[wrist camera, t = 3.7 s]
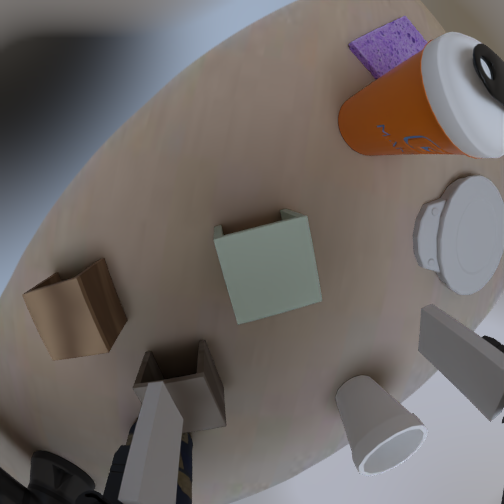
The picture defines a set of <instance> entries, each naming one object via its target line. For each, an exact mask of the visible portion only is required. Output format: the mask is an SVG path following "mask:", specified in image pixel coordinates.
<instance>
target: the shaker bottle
mask: <svg viewBox="0 0 504 504" xmlns="http://www.w3.org/2000/svg"><path fill="white" fill-rule="evenodd" d="M338 123H339V129H340V132H341V134H342V137H343V138H344V140H345V141H346V143H347V144H348V145H349V146H350V147H351V148H352V149H353V150H355V151H357V152H358V153H360V154H363V155H369V156H374V155H399V154H460V155H467V156H468V157H472V158H475V159H477V158H499V157H501V156H503V155H504V62H503V61H502V60H501V58H499V56H497V54H495V53H494V52H493V51H492V50H491V49H490V48H489V47H487V46H486V45H484V44H482V43H481V42H479V41H477V40H476V39H474V38H472V37H469V36H467V35H464V34H461V33H458V32H449V33H445V34H443V35H441V36H439V37H438V38H436V39H433V40H430V41H429V42H428V43H427V44H426V45H425V47H424V48H423V50H421V51H419V52H418V53H416V54H415V55H413V56H411V57H410V58H408V59H407V60H405V61H404V62H402V63H401V64H399V65H398V66H396V67H394V68H393V69H391V70H390V71H388V72H387V73H385V74H384V75H382V76H381V77H380V78H378V79H377V80H375V81H374V82H372V83H371V84H369V85H368V86H366V87H365V88H364V89H362V90H361V91H359V92H358V93H356V94H355V95H354V96H352V97H351V98H349V99H348V100H347V101H346V102H345V103H344V104H343V105H342V107H341V109H340V112H339V117H338Z"/></svg>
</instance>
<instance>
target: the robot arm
mask: <svg viewBox="0 0 504 504" xmlns="http://www.w3.org/2000/svg"><path fill="white" fill-rule="evenodd" d="M418 351H419V352H420V353H421V354H422V355H423V356H424V357H425V358H426V359H428V360H429V361H430V362H431V363H432V364H433V365H434V366H435V367H436V368H437V369H438V370H439V371H440V372H441V373H442V374H443V375H444V376H445V377H446V378H447V379H448V380H449V381H450V382H451V383H452V384H453V385H454V386H456V388H457V389H459V390H460V391H461V392H462V393H463V394H464V395H465V396H466V397H467V398H468V399H469V400H470V401H471V402H472V403H473V404H474V405H475V406H476V408H478V410H480V412H481V413H482V414H483V415H484V416H485V417H486V418H487V419H488V420H489V421H490V422H491V421H492V420H493V419H494V418H495V417H497V416H498V415H499V414H500V413H501V412H502V409H503V408H504V345H501V343H500V342H498V341H497V340H495V339H494V338H491V337H488V336H483V337H480V336H479V335H477V334H476V333H474V332H473V331H472V330H470V329H469V328H467V327H466V326H464V325H463V324H462V323H460V322H459V321H457V320H456V319H454V318H453V317H451V316H450V315H448V314H447V313H445V312H444V311H442V310H441V309H439V308H438V307H436V306H435V305H433V304H430V305H428V306H425V307H423V308H421V321H420V335H419V346H418ZM502 423H504V417H503V419H502ZM182 427H183V418H182V416H181V414H180V412H179V411H178V409H177V407H176V405H175V403H174V401H173V400H172V398H171V396H170V394H169V392H168V390H167V388H166V386H165V384H164V382H163V381H161V382H153V383H148V386H147V390H146V393H145V396H144V400H143V403H142V407H141V410H140V414H139V417H138V421H137V424H136V428H135V431H134V435H133V439H132V443H131V445H121V446H120V448H119V449H118V450H117V452H116V453H115V455H114V458H113V461H112V465H111V468H110V473H109V476H108V479H107V483H106V487H105V490H104V494H103V495H101V494H100V493H99V492H96V491H94V489H95V484H94V482H93V480H92V479H91V478H90V477H89V476H88V475H87V474H86V473H84V472H83V471H82V470H81V469H79V468H78V467H76V466H75V465H73V464H72V463H70V462H68V461H66V460H65V459H63V458H61V457H58V456H56V455H54V454H51V453H48V452H45V451H36V452H34V454H33V456H32V458H31V470H30V483H29V485H28V488H26V487H24V486H23V485H22V484H20V483H19V482H18V481H17V480H15V479H14V478H13V477H12V476H10V475H9V474H8V473H7V472H6V471H4V470H3V469H2V468H1V467H0V504H176V492H177V479H178V467H179V456H180V446H181V436H182ZM501 504H504V491H503V497H502V503H501Z"/></svg>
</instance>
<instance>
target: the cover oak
mask: <svg viewBox="0 0 504 504" xmlns="http://www.w3.org/2000/svg"><path fill="white" fill-rule="evenodd" d="M161 381H163V382H164V384H165V386H166V388H167V390H168V392H169V394H170V396H171V398H172V400H173V401H174V403H175V405H176V407H177V409H178V411H179V412H180V414H181V416H182V418H183V427H182V433H187V432H195V431H201V430H208V429H214V428H219V427H225V426H226V416H225V402H224V387H223V385H222V382H221V380H220V377H219V375H218V372H217V370H216V367H215V365H214V362H213V359H212V357H211V354H210V352H209V349H208V346H207V344H206V341H205V340H201V341H199V350H198V362H197V374H192V375H187V376H182V377H176V378H171V379H164V377H163V375H162V373H161V371H160V369H159V367H158V365H157V363H156V361H155V359H154V357H153V354H152V352H151V351H149V352H146V353H145V355H144V358H143V361H142V364H141V366H140V369H139V372H138V375H137V377H136V380H135V383H134V386H133V390H134V392H135V393H136V395H137V397H138V398H139V400H140V402H141V403H143V400H144V396H145V393H146V390H147V386H148V383H153V382H161Z"/></svg>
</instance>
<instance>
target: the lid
mask: <svg viewBox="0 0 504 504" xmlns="http://www.w3.org/2000/svg"><path fill="white" fill-rule="evenodd" d="M413 249H414V254H415V257H416V259H417V262H418V265H419V266H421V267H423V268H426V269H429V270H433V271H435V272H436V273H437V275H438V276H439V278H440V280H441V281H442V282H444V283H445V284H447V286H448V288H450V289H451V290H453V291H454V292H456V293H457V294H459V295H471V294H473V293H475V292H477V291H478V290H480V289H481V288H482V287H483V286H484V285H485V284H486V283H487V282H488V281H489V280H490V279H491V277H492V275H493V274H494V272H495V270H496V269H497V267H498V264H499V262H500V259H501V256H502V253H503V249H504V203H503V201H502V198H501V195H500V193H499V191H498V189H497V188H496V187H495V185H494V184H493V183H492V182H491V180H489V179H487V178H485V177H483V176H481V175H474V176H467V177H466V178H460V179H457V180H456V181H455V182H453V183H452V184H450V185H449V186H448V187H447V189H446V190H445V192H444V193H443V195H442V196H441V197H440V199H437V200H434V201H431V202H428V203H426V204H423V206H422V208H421V210H420V212H419V214H418V216H417V218H416V221H415V227H414V232H413Z"/></svg>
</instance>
